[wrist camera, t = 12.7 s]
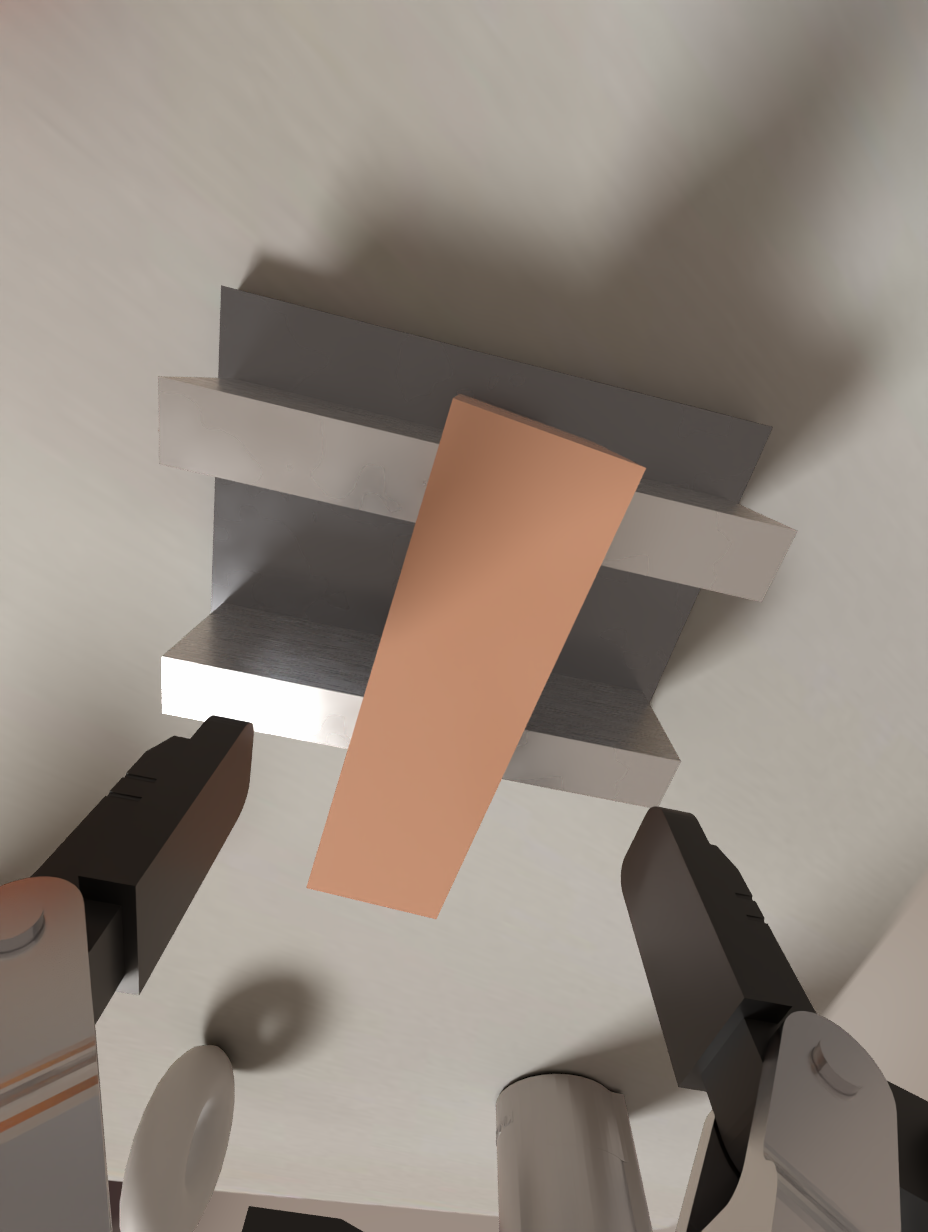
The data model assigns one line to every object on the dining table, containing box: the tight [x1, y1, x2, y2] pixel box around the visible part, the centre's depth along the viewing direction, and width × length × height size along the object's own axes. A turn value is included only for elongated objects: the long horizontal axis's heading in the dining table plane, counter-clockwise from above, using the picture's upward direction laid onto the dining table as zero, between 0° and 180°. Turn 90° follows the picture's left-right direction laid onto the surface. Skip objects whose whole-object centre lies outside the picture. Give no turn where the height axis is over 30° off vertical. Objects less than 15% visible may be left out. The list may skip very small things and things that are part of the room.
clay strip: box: [307, 394, 646, 919], centre depth 15 cm, size 4×14×5 cm, turn 161°
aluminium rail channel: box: [158, 286, 797, 808], centre depth 20 cm, size 20×17×6 cm
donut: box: [120, 1045, 234, 1232], centre depth 34 cm, size 10×4×10 cm, turn 2°
